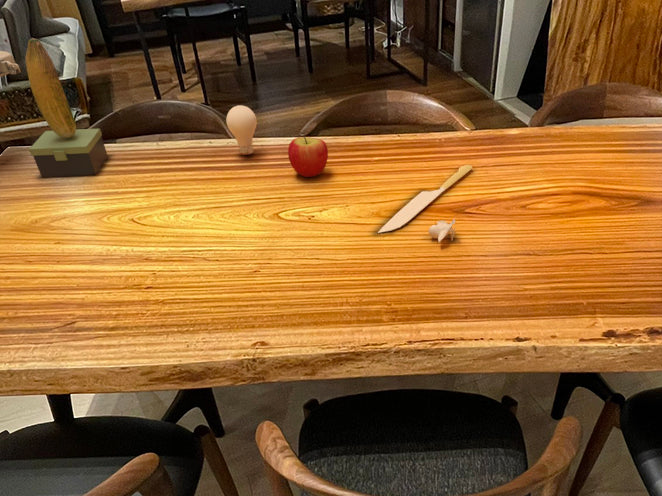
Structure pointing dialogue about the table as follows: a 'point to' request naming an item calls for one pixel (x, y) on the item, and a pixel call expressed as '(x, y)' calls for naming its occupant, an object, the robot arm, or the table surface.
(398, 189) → the table surface
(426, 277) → the table surface
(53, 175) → the block
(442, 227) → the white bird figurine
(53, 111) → the vegetable
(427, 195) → the knife
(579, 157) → the table surface
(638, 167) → the table surface
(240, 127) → the light bulb
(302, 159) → the apple
